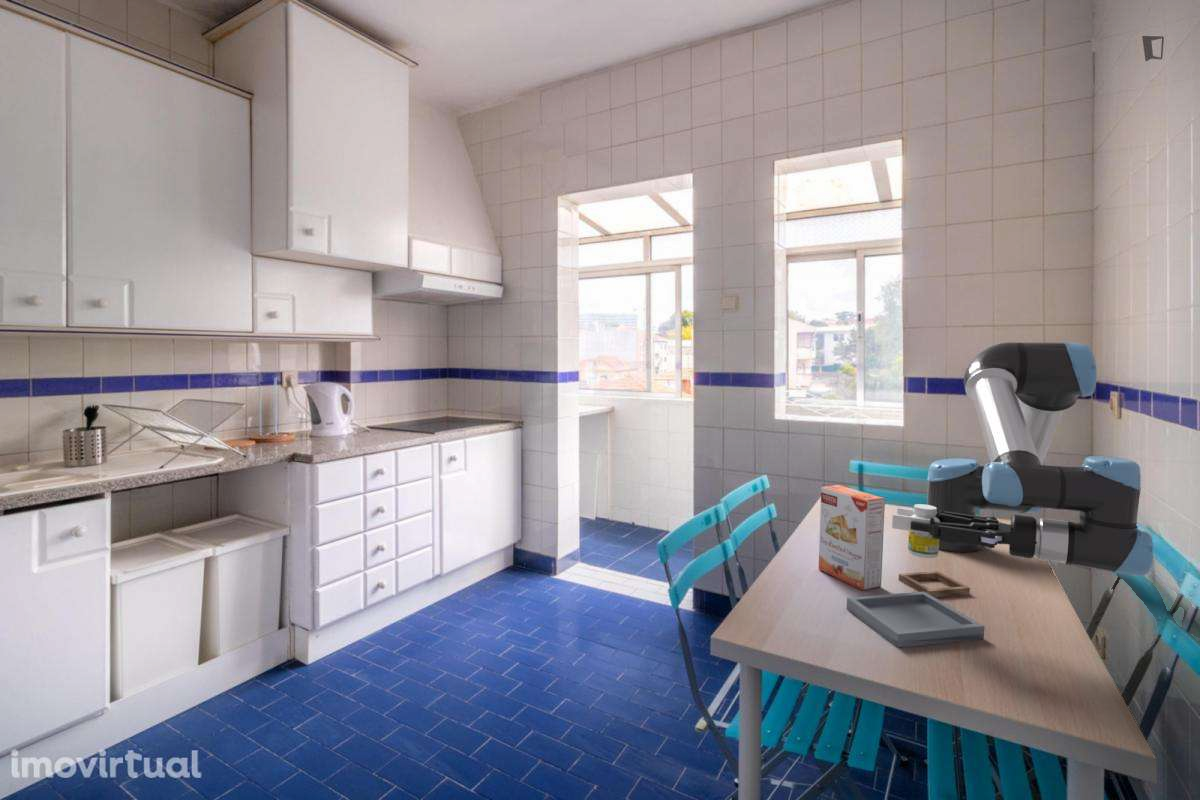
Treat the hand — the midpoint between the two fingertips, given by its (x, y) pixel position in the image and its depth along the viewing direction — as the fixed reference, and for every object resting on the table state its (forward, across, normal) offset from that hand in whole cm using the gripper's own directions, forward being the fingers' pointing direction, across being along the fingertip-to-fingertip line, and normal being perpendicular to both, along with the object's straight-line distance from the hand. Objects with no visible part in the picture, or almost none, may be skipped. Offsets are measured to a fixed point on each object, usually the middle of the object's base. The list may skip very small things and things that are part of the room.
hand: (895, 517), depth 122 cm
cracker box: (+11, +14, -20) cm, 27 cm away
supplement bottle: (-5, 0, -7) cm, 8 cm away
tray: (-4, -3, -20) cm, 21 cm away
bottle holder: (-6, +19, -20) cm, 28 cm away
